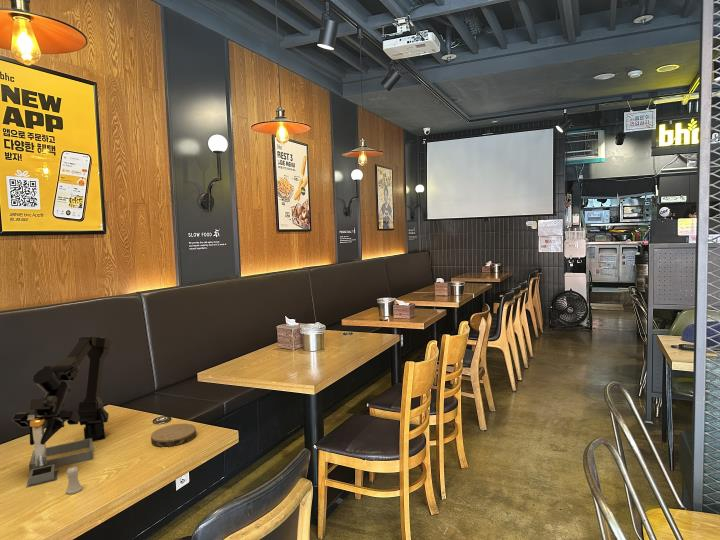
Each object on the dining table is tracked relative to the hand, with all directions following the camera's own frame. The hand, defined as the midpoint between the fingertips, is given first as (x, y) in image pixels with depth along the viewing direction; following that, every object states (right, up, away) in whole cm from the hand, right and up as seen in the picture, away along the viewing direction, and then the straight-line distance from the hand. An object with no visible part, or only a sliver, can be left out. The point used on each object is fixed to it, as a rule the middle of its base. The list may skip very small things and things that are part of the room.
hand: (36, 444), depth 149 cm
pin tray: (-2, -12, +16) cm, 20 cm away
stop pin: (0, -7, +2) cm, 7 cm away
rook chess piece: (+16, -13, -6) cm, 21 cm away
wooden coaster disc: (+31, -10, +32) cm, 45 cm away
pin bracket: (0, -13, +2) cm, 13 cm away
